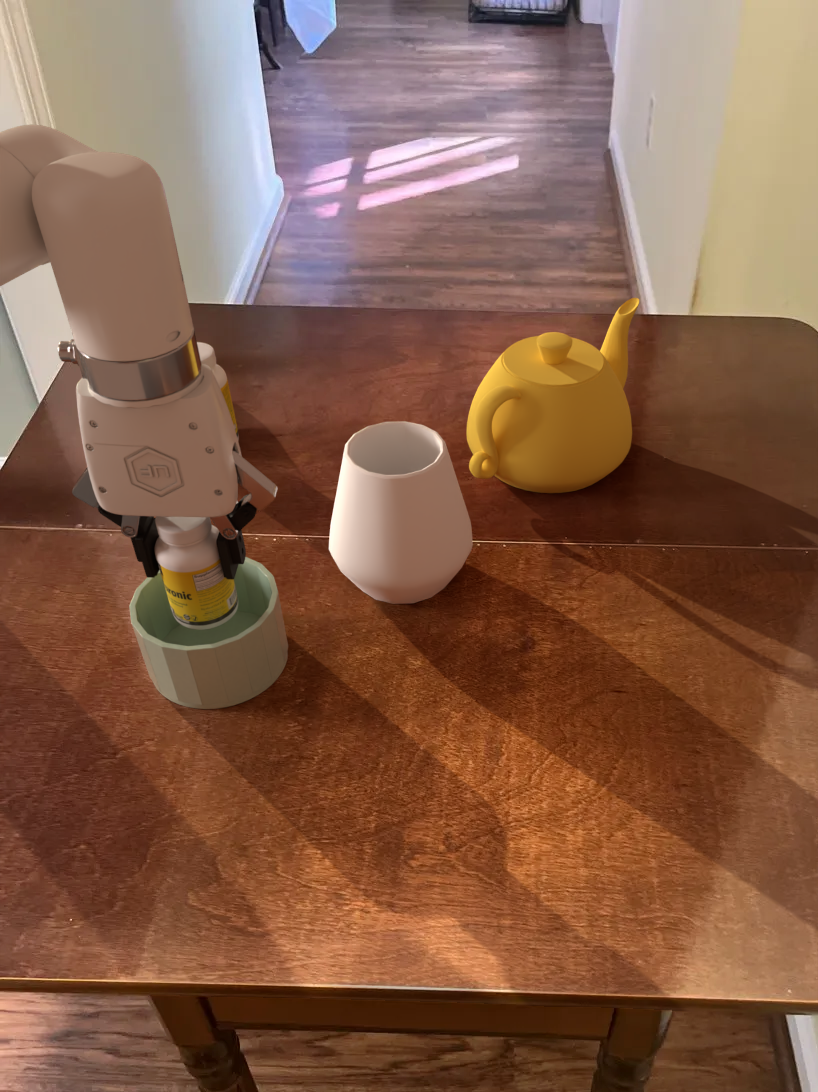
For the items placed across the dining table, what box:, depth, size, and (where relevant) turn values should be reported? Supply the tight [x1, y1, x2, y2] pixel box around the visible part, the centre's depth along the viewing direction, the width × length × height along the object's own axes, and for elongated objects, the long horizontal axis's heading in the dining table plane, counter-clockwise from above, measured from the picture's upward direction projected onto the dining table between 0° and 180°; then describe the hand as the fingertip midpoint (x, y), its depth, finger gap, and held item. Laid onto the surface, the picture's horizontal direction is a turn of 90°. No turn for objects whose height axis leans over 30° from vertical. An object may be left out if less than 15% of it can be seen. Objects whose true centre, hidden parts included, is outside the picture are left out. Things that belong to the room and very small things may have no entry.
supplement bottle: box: [154, 516, 238, 630], centre depth 78 cm, size 5×5×10 cm
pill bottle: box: [197, 341, 240, 441], centre depth 105 cm, size 6×6×11 cm
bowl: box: [128, 556, 289, 710], centre depth 83 cm, size 12×12×7 cm
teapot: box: [465, 297, 640, 494], centre depth 104 cm, size 25×18×14 cm
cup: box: [328, 420, 474, 605], centre depth 89 cm, size 13×13×14 cm
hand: (194, 565), depth 78 cm, fingers closed on supplement bottle, 5 cm apart
